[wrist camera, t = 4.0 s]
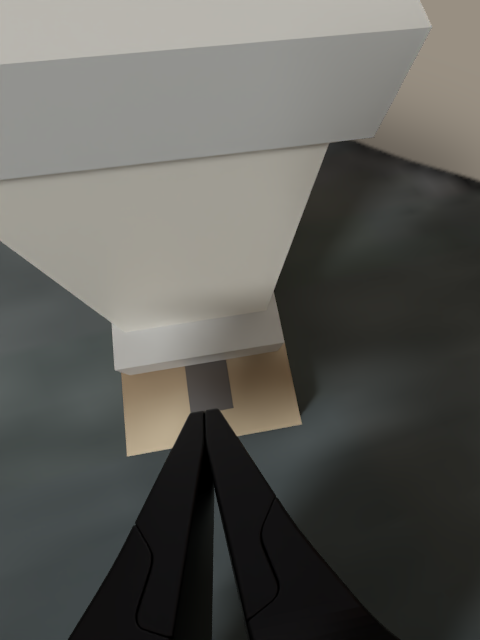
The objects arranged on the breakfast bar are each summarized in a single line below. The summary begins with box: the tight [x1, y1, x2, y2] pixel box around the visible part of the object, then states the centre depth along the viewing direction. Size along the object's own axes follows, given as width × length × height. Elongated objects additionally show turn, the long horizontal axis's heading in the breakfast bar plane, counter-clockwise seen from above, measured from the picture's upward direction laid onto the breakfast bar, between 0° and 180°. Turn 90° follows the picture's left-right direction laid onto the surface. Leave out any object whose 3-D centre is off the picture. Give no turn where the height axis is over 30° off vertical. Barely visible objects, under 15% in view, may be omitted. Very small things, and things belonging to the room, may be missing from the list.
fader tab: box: [0, 0, 432, 375], centre depth 9 cm, size 5×7×13 cm
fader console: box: [121, 343, 302, 456], centre depth 17 cm, size 18×8×2 cm, turn 10°
